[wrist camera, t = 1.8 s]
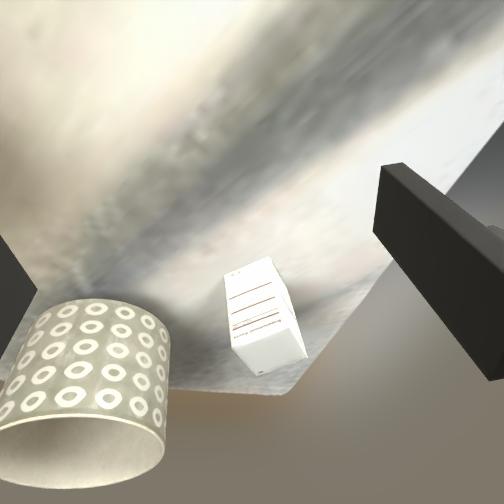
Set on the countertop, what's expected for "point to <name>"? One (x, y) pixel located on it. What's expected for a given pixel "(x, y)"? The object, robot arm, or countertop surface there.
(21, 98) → the countertop surface
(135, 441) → the planter
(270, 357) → the white packaging box
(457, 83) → the countertop surface
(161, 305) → the countertop surface
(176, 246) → the countertop surface
